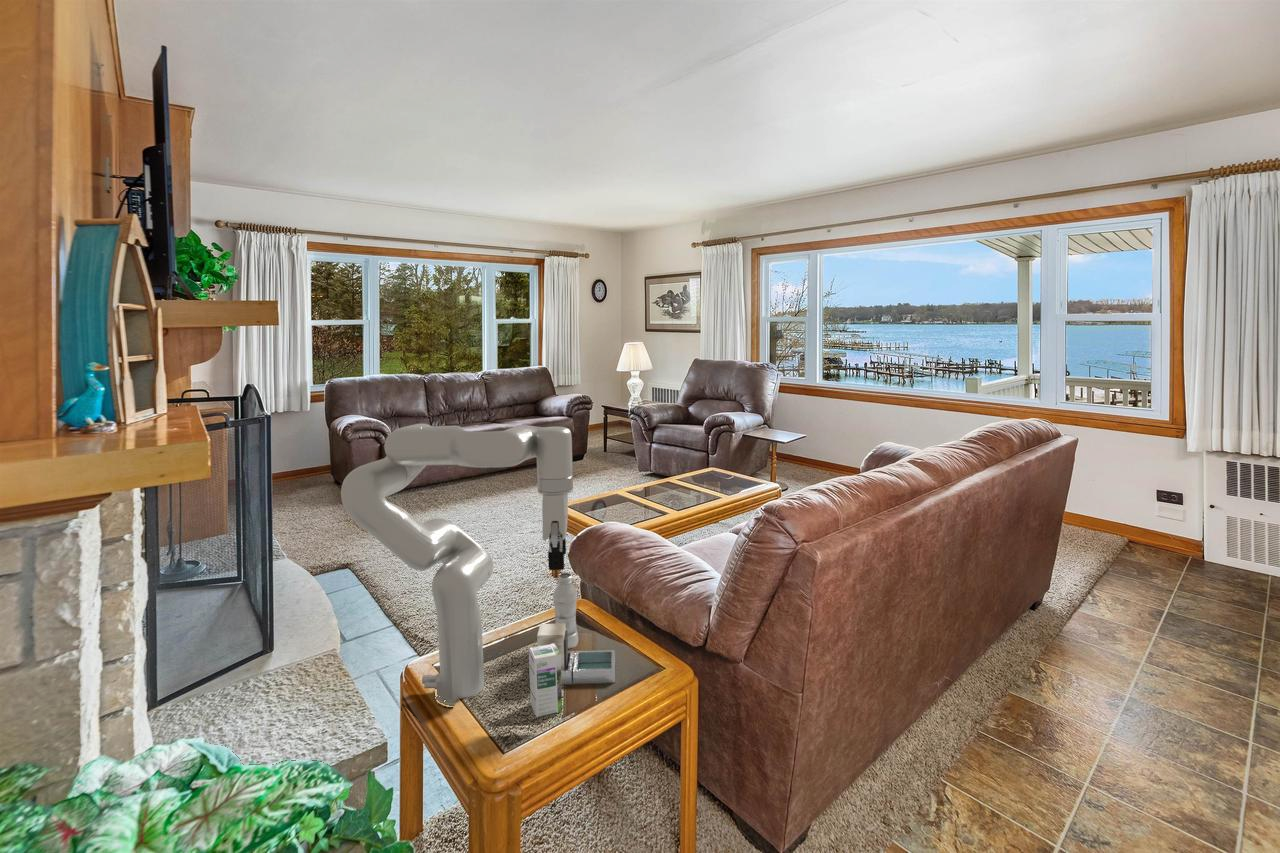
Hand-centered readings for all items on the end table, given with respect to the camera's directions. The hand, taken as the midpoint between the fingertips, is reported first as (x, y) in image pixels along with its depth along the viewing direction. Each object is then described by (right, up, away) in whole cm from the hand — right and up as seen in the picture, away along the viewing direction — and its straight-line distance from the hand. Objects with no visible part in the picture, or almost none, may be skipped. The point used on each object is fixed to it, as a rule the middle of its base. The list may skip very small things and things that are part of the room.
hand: (557, 561), depth 133 cm
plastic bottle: (-1, -29, +28) cm, 40 cm away
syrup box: (-2, -33, -1) cm, 33 cm away
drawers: (+2, -31, +13) cm, 33 cm away
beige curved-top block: (-3, -29, +12) cm, 32 cm away
